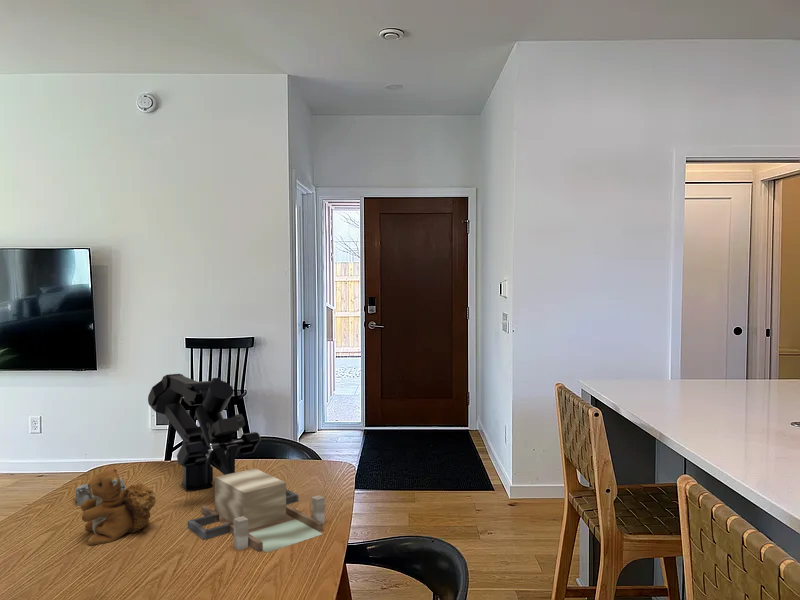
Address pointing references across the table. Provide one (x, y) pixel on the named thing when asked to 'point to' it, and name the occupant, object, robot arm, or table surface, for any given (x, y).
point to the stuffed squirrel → (115, 508)
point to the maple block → (250, 497)
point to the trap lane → (265, 527)
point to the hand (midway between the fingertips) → (232, 478)
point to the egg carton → (84, 495)
